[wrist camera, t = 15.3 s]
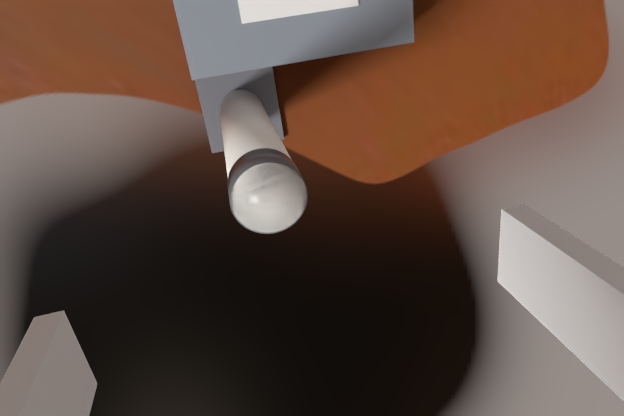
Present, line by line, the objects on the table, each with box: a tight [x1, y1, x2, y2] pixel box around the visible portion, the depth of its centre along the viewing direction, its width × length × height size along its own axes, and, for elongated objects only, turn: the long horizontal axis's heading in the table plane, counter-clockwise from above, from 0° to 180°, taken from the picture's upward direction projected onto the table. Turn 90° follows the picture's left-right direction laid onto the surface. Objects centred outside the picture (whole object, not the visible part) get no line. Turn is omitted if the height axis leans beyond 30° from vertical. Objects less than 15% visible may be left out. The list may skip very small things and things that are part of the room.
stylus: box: [219, 89, 308, 234], centre depth 29 cm, size 4×4×18 cm
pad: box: [195, 67, 284, 153], centre depth 37 cm, size 6×6×1 cm
